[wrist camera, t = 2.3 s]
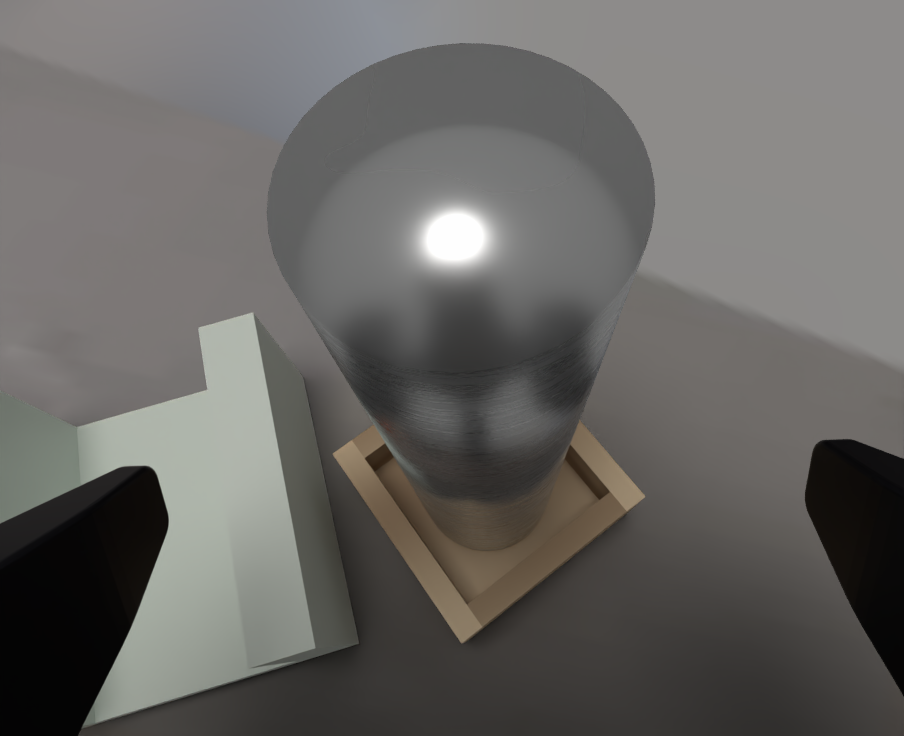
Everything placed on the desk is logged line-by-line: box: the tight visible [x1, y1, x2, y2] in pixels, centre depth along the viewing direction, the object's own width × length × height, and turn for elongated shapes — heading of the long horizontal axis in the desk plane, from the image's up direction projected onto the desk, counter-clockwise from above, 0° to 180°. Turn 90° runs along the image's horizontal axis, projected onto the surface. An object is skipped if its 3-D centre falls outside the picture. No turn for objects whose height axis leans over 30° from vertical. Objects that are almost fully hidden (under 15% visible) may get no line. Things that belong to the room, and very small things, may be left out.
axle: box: [267, 43, 655, 551], centre depth 12 cm, size 3×3×13 cm
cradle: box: [0, 313, 359, 729], centre depth 17 cm, size 8×8×4 cm
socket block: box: [333, 420, 645, 644], centre depth 18 cm, size 6×6×2 cm
